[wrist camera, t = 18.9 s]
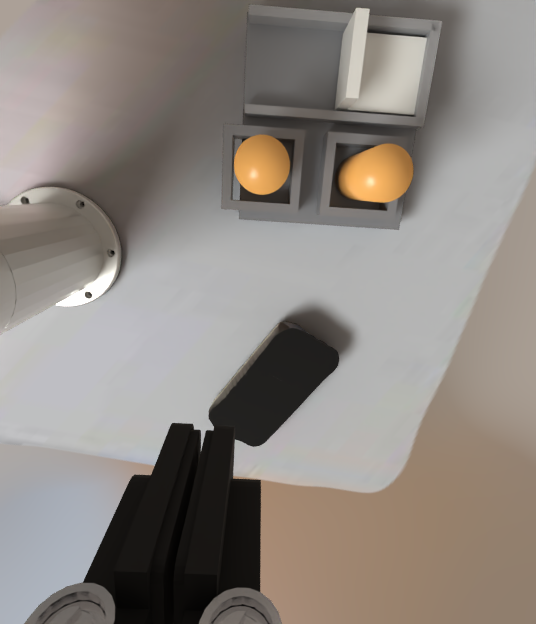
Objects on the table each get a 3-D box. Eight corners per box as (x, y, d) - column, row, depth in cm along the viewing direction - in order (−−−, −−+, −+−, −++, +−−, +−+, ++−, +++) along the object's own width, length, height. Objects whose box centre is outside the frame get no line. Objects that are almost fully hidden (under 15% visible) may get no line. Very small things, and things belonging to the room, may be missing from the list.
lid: (334, 110, 33) (345, 97, 28) (342, 34, 31) (356, 7, 27) (410, 116, 33) (433, 104, 29) (423, 41, 31) (450, 16, 27)
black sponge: (286, 308, 42) (288, 318, 39) (340, 349, 44) (346, 363, 41) (204, 404, 46) (200, 421, 43) (257, 438, 48) (256, 458, 45)
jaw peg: (332, 197, 36) (354, 200, 27) (338, 153, 34) (363, 140, 26) (372, 201, 36) (407, 204, 27) (380, 157, 34) (418, 146, 26)
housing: (226, 216, 39) (211, 226, 27) (232, 25, 34) (216, -61, 22) (389, 227, 39) (440, 241, 28) (419, 41, 34) (498, -34, 23)
